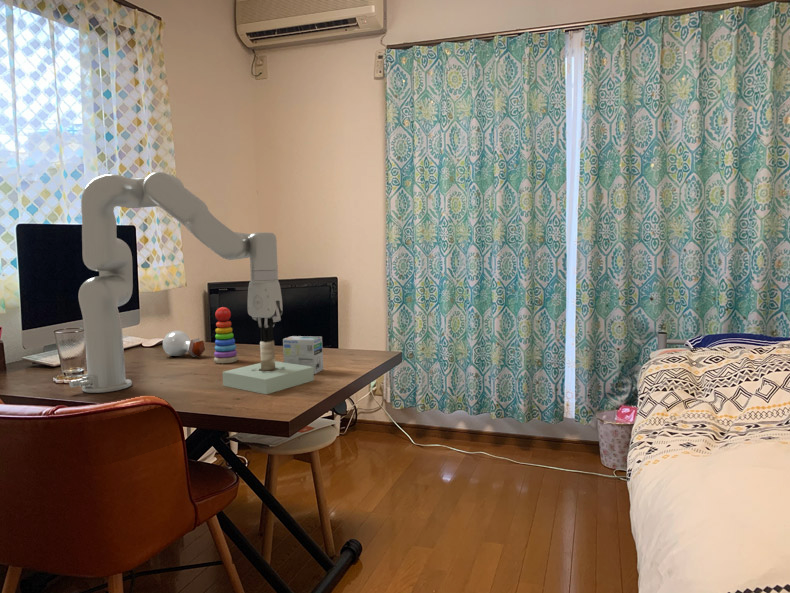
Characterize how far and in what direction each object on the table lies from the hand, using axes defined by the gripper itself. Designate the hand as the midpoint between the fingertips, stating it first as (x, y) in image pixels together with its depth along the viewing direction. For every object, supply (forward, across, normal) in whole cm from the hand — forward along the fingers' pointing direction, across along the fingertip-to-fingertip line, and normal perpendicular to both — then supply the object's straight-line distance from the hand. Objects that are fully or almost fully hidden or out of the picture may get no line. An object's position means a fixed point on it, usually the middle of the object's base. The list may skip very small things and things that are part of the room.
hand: (267, 340), depth 164 cm
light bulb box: (+12, -2, +16) cm, 20 cm away
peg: (+12, 0, 0) cm, 12 cm away
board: (+12, 0, 0) cm, 12 cm away
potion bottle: (+12, -58, +11) cm, 60 cm away
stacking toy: (+12, -36, +13) cm, 40 cm away
